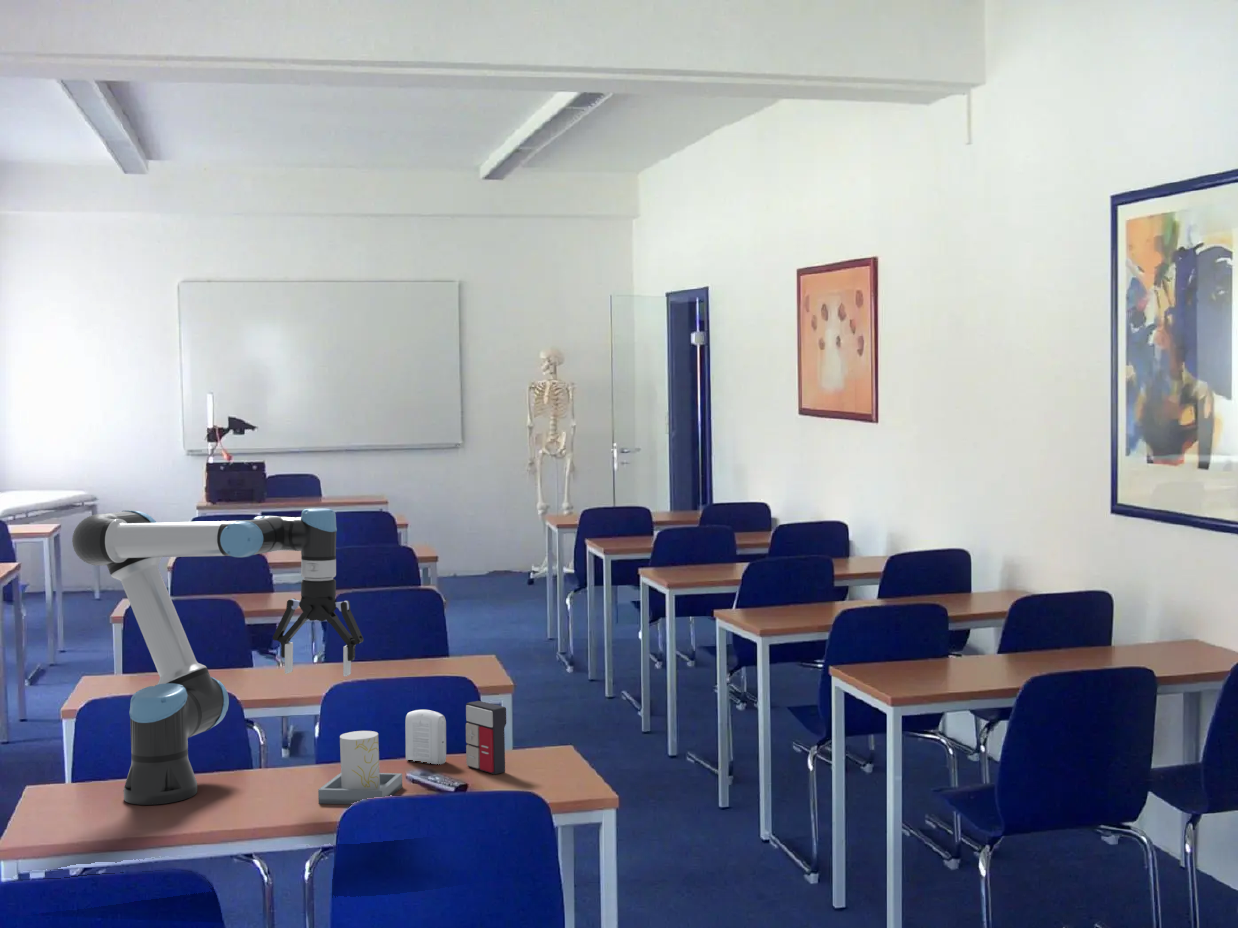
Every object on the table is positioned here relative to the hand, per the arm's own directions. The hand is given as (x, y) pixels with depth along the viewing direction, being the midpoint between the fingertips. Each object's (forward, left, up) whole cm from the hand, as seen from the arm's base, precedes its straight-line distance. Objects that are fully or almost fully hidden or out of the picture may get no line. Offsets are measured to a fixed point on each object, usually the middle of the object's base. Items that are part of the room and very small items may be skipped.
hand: (317, 673), depth 288 cm
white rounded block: (+18, +23, -25) cm, 38 cm away
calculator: (+34, +17, -25) cm, 45 cm away
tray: (+12, -6, -25) cm, 28 cm away
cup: (+12, -6, -24) cm, 27 cm away
